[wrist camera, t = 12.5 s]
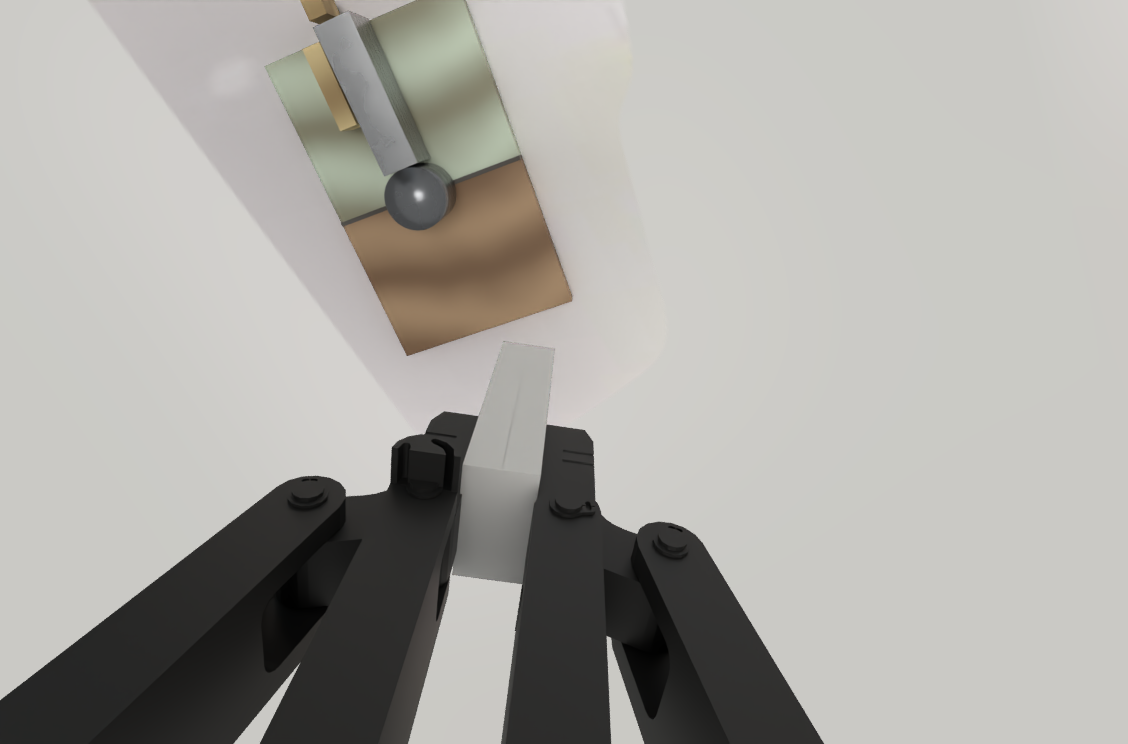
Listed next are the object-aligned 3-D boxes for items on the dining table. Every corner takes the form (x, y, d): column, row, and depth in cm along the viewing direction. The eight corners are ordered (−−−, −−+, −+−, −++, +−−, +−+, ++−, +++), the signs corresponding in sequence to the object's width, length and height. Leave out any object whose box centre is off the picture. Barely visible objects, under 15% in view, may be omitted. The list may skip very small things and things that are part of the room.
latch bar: (465, 208, 43) (455, 217, 40) (415, 228, 44) (401, 239, 40) (380, 14, 38) (360, 4, 35) (326, 39, 39) (301, 33, 36)
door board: (258, 37, 40) (228, 31, 37) (448, -47, 38) (435, -62, 35) (410, 350, 49) (398, 368, 46) (572, 296, 47) (571, 311, 44)
